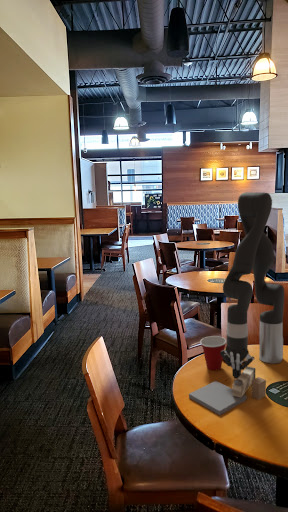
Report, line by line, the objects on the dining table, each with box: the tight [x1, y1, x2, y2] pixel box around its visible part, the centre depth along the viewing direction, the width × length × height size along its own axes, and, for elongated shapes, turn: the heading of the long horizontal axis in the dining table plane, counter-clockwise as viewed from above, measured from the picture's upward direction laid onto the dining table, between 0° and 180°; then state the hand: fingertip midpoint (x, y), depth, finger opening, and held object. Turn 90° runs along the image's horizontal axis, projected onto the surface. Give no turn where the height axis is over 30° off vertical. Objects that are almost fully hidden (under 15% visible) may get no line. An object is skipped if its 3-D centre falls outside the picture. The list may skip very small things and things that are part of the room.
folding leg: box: [232, 365, 256, 398], centre depth 129 cm, size 16×3×5 cm, turn 146°
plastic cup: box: [199, 335, 227, 371], centre depth 148 cm, size 11×11×12 cm
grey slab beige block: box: [188, 376, 267, 416], centre depth 126 cm, size 21×17×6 cm
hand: (236, 377), depth 134 cm, fingers closed
